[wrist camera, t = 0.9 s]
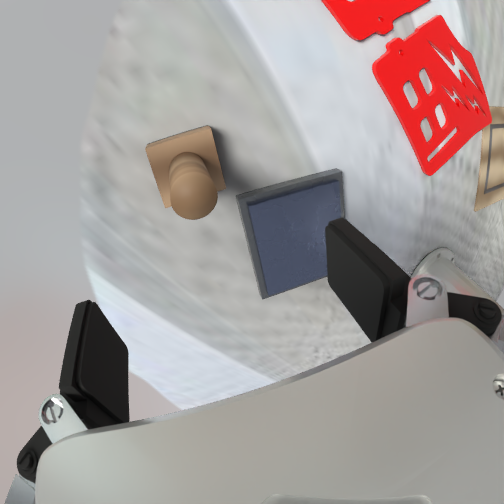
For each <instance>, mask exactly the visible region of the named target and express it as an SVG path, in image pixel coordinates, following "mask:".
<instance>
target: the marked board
mask: <svg viewBox="0 0 504 504" xmlns="http://www.w3.org/2000/svg"><path fill="white" fill-rule="evenodd" d="M489 109H490V112H491V117H492V123H491V124H489V125H487V126H486V127H484V128H483V132H482V150H481V162H480V172H479V181H478V188H477V195H476V202H475V208H474V211H475V212H476V211H478V210H480V209H482V208H485V207H487V206H489V205H491V204H493V203H495V202H498V201H500V200H502V199H504V107H490V106H489ZM484 115H485V114H484Z"/></svg>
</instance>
